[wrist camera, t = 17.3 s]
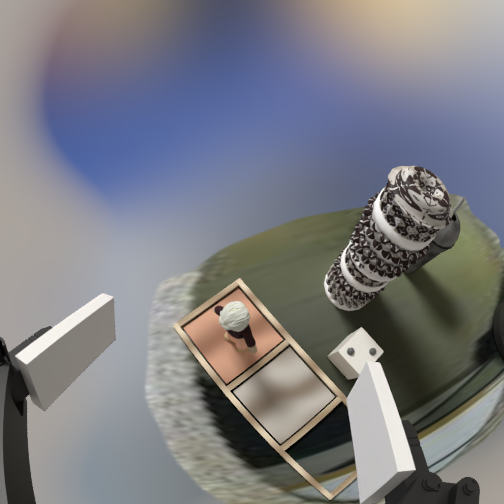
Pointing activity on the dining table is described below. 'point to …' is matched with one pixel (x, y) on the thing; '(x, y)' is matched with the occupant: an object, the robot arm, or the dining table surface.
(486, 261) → the dining table surface
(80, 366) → the robot arm
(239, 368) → the wooden flat rectangular frame
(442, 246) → the beverage cup
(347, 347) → the ivory die
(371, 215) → the decorative candle
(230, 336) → the grandmother figurine
